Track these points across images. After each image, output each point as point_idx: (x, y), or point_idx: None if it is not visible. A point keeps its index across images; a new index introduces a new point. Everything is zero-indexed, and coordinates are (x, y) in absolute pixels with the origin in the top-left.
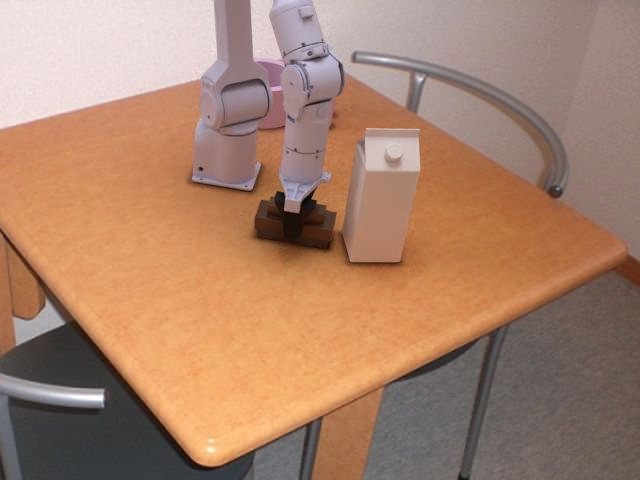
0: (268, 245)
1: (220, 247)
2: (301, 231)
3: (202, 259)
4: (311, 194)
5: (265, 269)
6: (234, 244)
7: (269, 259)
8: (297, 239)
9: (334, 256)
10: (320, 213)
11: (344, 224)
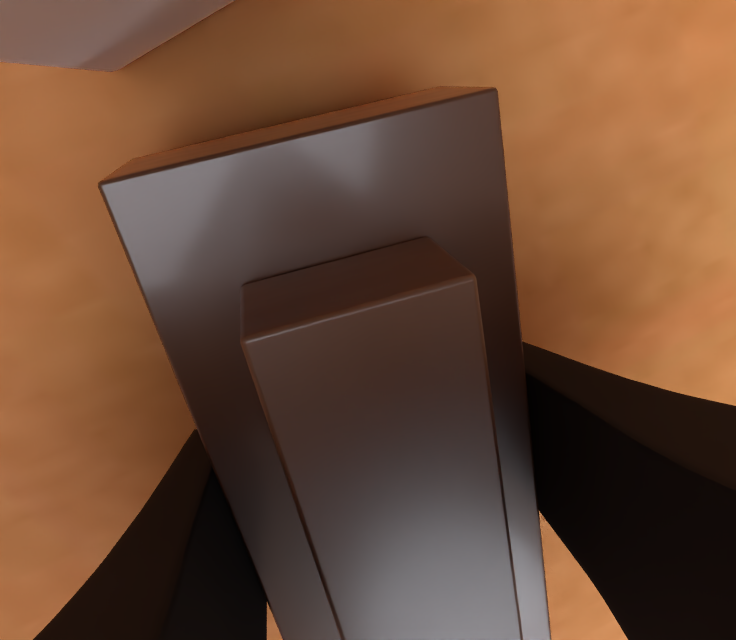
0: None
1: None
2: (568, 360)
3: None
4: (185, 602)
5: (730, 369)
6: (574, 575)
7: None
8: None
9: (469, 17)
10: (476, 328)
11: (144, 34)
